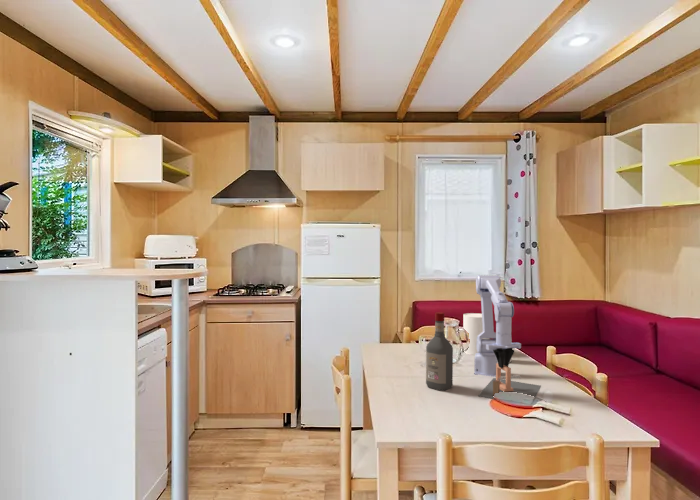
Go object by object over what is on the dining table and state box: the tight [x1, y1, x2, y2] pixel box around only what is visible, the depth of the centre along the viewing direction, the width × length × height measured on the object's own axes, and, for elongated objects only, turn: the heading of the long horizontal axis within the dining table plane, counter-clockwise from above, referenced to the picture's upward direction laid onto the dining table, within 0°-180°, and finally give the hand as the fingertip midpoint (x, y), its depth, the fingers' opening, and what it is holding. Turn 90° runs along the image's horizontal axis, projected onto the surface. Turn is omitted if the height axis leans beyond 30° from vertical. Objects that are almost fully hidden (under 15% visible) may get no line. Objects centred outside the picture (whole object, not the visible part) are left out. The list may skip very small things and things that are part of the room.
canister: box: [462, 312, 491, 357], centre depth 233 cm, size 14×14×20 cm
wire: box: [493, 374, 521, 396], centre depth 170 cm, size 7×16×6 cm, turn 149°
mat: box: [477, 377, 542, 400], centre depth 172 cm, size 19×25×1 cm
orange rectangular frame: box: [495, 362, 513, 392], centre depth 173 cm, size 4×8×9 cm, turn 14°
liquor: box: [425, 311, 454, 391], centre depth 177 cm, size 9×9×30 cm
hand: (503, 367), depth 173 cm, fingers closed on orange rectangular frame, 2 cm apart
